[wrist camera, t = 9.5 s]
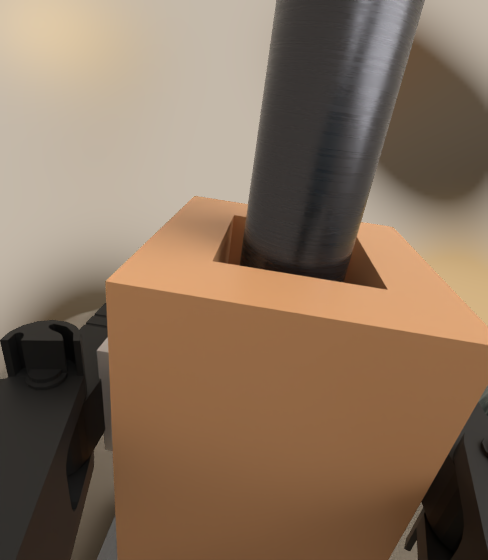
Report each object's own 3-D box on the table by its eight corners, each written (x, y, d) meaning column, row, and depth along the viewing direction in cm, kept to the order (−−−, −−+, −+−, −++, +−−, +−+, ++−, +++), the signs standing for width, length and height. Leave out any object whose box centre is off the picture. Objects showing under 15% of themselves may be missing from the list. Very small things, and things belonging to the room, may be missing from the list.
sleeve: (320, 447, 12) (392, 227, 9) (341, 641, 8) (507, 347, 4) (178, 422, 12) (194, 195, 9) (118, 599, 8) (105, 281, 4)
